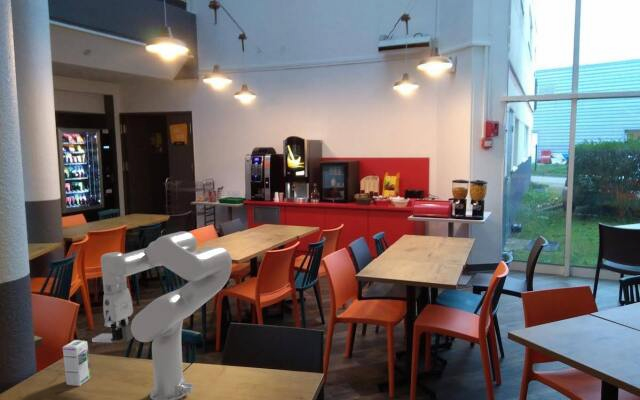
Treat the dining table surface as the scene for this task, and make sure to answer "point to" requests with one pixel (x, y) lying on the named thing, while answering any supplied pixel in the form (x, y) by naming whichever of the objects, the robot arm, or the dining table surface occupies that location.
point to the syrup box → (76, 362)
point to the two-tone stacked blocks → (125, 336)
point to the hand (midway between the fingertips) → (120, 337)
